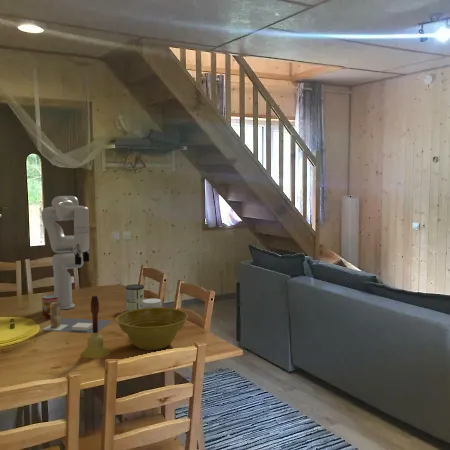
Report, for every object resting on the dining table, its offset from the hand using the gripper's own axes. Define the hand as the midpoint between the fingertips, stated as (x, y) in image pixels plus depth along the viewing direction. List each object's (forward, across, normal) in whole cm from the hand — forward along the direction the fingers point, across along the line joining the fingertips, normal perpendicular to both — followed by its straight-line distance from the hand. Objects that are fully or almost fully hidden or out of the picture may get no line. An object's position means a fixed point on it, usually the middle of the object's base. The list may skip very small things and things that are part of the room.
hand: (82, 262), depth 268 cm
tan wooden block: (+29, +19, -6) cm, 35 cm away
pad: (+30, +19, -6) cm, 36 cm away
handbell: (+31, +48, +27) cm, 63 cm away
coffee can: (+31, -22, +21) cm, 43 cm away
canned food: (+31, +1, -18) cm, 35 cm away
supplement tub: (+31, +11, +41) cm, 52 cm away
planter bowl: (+31, +34, +48) cm, 66 cm away
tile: (+28, +15, +8) cm, 33 cm away
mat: (+30, +13, +3) cm, 33 cm away
